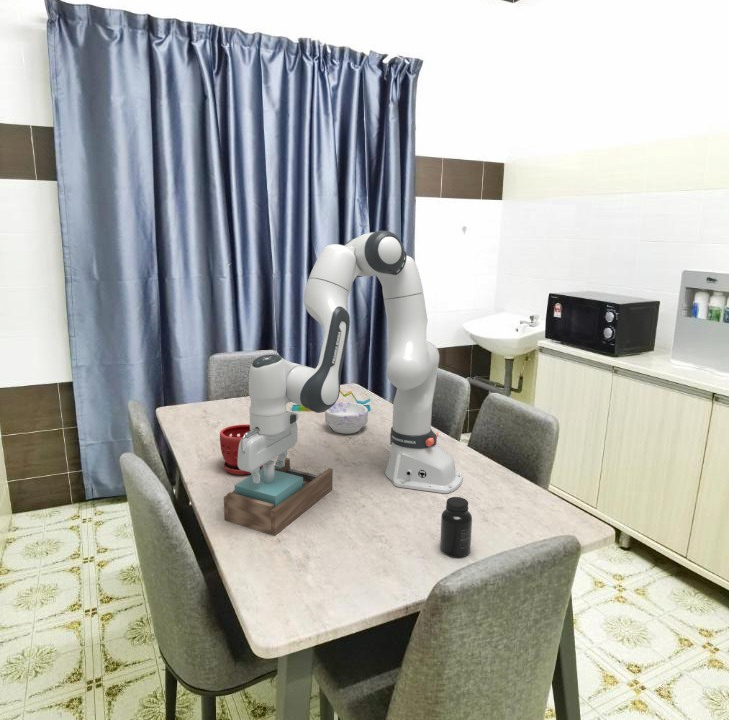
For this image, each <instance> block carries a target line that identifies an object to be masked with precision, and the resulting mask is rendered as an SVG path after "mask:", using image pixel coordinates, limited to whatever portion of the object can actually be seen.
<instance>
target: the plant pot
mask: <svg viewBox="0 0 729 720" xmlns="http://www.w3.org/2000/svg"><path fill="white" fill-rule="evenodd" d="M249 431H251V430H250V424H237V425H231V426H230V425H229V426H227V427H225V428H222V430H220V432H219V444H220V445H219V446H220V450H221V451H220V452H221V454H222V458H223V459H224V462H223V468H224V469H225V471H227V472H228V473H230V474H233V475H250V474H251V473H250V472H246V471H243V470H240V469H239V468H238V448H239V443H240V441H241V439H242V438H243V436H244V434H245V433H246V432H249ZM238 435H239V436H238ZM263 467H264V465H262V466H260V469H262V468H263Z"/></svg>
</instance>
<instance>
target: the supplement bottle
mask: <svg viewBox="0 0 729 720" xmlns="http://www.w3.org/2000/svg"><path fill="white" fill-rule="evenodd" d="M445 505H446V506H445V509H444V510H443V511H442V512H441V517H440V518H441V519H440V541H439V543H440V544H439V546H440V547H439V548H440V550H441V552H442V553H443V554H444V555H446V556H448V557H452V558H462V557H463V558H464V557H465V556H467V555H469V553H470V552H471V548H472V547H471V545H472V544H471V543H472V531H473V530H472V528H473V516H472V514H471V512H470V511H469V501H468V500H467V499H466V498H464V497H461V496H452V497H449V498H447V499H446V503H445Z"/></svg>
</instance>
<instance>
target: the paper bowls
mask: <svg viewBox="0 0 729 720" xmlns="http://www.w3.org/2000/svg"><path fill="white" fill-rule="evenodd" d="M364 405H365V404H359V403H357V402H351V401H350V402H349V401H348V402H347V401H345V402H343V401H342V402H341V401H340V402H336V403H335V404H334V405H333V406H332V407H331V408H330V409H328V410H326V411H324V422H325V424H326V425H327V426H330V428H331V430H332V431H334V432H335V433H338V434H343V435H345V434H346V435H347V434H349V435H350V434H355V433H357V432H359V431H360V430H361V429H362V427H364V426H365V425H368V423H369V422H368V419H369V411H368V409H367V408H366V407H365V406H364Z"/></svg>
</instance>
